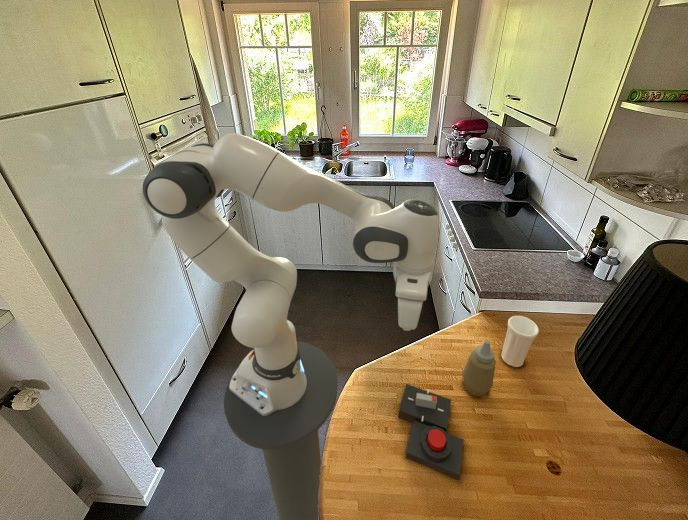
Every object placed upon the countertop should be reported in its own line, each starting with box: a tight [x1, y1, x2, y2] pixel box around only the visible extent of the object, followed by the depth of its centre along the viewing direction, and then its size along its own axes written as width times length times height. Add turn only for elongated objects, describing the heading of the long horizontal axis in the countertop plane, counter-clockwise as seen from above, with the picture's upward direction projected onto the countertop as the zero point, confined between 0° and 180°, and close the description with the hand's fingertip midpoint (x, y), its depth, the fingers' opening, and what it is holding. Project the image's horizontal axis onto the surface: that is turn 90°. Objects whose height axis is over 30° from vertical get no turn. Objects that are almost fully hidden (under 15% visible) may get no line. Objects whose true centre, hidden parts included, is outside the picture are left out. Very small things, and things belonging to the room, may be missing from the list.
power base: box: [405, 420, 464, 481], centre depth 76 cm, size 12×8×4 cm, turn 68°
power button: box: [427, 429, 446, 452], centre depth 75 cm, size 4×4×2 cm
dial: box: [416, 393, 437, 409], centre depth 83 cm, size 5×2×3 cm, turn 78°
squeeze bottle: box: [461, 339, 497, 397], centre depth 87 cm, size 8×8×18 cm
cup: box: [500, 315, 540, 368], centre depth 96 cm, size 8×8×14 cm
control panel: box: [398, 383, 452, 433], centre depth 84 cm, size 12×9×3 cm
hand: (407, 314), depth 80 cm, fingers open, 8 cm apart
